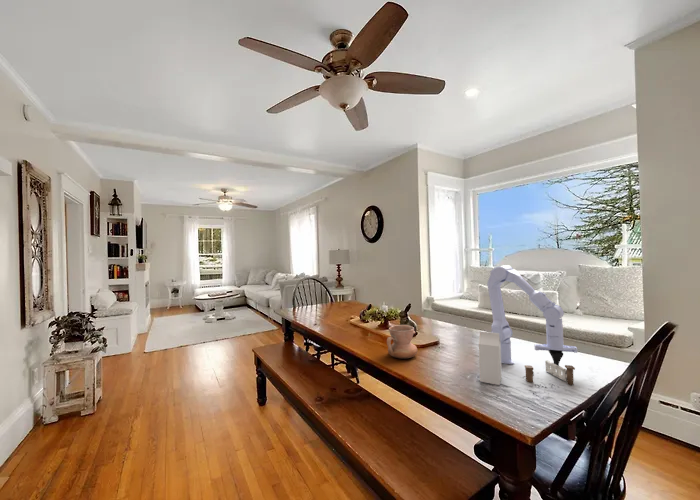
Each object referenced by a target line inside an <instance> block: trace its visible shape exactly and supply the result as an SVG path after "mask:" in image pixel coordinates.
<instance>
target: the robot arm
mask: <svg viewBox="0 0 700 500" xmlns="http://www.w3.org/2000/svg"><path fill="white" fill-rule="evenodd" d="M505 282H510V283H514V284H515V285H516V286H518V287H519V288H520V289H521V290H522V291H523V293H525V294H527V295H528V298H529V301H530V302H531V303H532V304H533V305H534V306H535V307H536V308H538V309H539V311H540V312H542V315H543V317H544V319H545V330H546V331H545V332H546V333H545V334H546V335H545V337H546V343H544V344H543V343H542V344H541V343H540V344H538V343H537V344H534V346H533V347H534V350H535V351H548V353H549V354H550V356H551V358H552V362H553V363H554V364H556V365H558V366H560V365H559V364H560V361H561V360H562V358H563V357H564V353H563V352H567V353H568V352H569V353H574V354H575V353H577V354H578V348H577V346H573V345H564V325H563V317H564V315H565V312H564V309H563V308H562V307H561V306H560V305H558V304H556V302H554V301H551V299H550V298H549V297H548V296H547V294H546V293H545V292H542V291H541V290H535V289H534V287H533V286H532V285H531V284H530V283H529V282H528V281H527V280H526V279H525V278H524V277H523V276H522V275H521V274H520V273H519V271H518V270H517V269H515V268H513V267H512V265H509V264H504V265H496V266H495V267H494V268H492V270H490V275H489V277H488V280H487V283H486V284H487V289H488V290H487V291H488V296H489V303H490V309H491V314H492V323H491V326H490V327H491V331H490V332H491V333H499V337H500V342H501V364H508V365H514V364H515V362H514V361H513V359H512V346H511V345H512V344H511V343H512V342H511V341H512V340H511V338H512V337H513V330H512V328H511V327H510V323H509V322H508V320H507V318H506V313H505V306H504V301H503V295H502V287H501V286H502V285H503V284H504V283H505Z"/></svg>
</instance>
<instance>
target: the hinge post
mask: <svg viewBox="0 0 700 500" xmlns="http://www.w3.org/2000/svg"><path fill="white" fill-rule="evenodd" d="M564 367H565V369H566V370H567V381H566V384H567V385H569V386H574V383H575V382H574V381H575V380H574V370H575V369H576V367H574V366H573V365H568V364H565V365H564Z"/></svg>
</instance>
